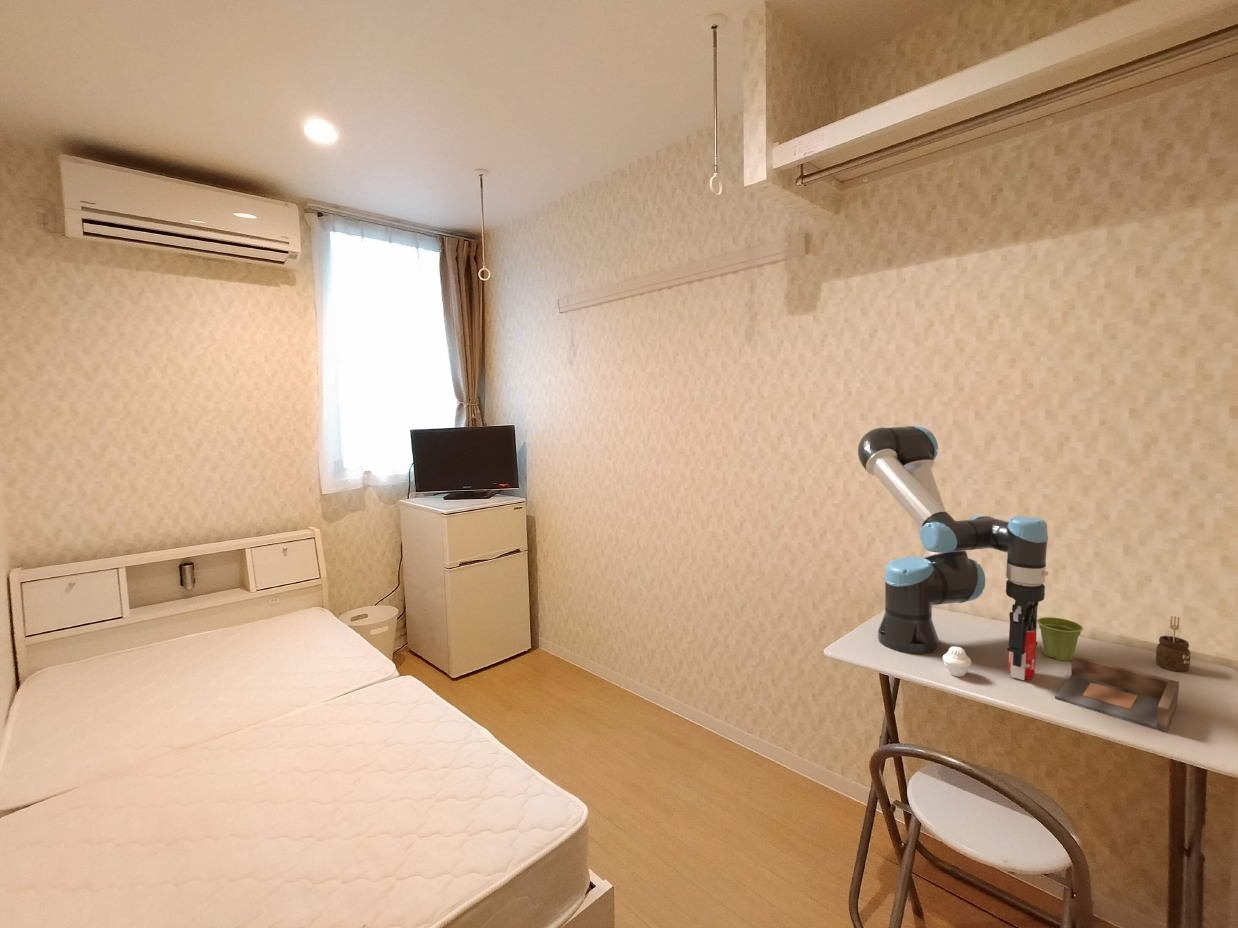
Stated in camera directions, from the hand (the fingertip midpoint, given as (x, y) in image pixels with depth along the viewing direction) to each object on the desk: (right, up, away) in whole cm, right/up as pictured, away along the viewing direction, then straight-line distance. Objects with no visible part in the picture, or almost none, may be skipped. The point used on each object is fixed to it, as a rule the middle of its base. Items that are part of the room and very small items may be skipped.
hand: (1021, 673), depth 135 cm
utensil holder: (+39, +1, +2) cm, 39 cm away
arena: (+12, -1, -13) cm, 17 cm away
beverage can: (0, -1, 0) cm, 0 cm away
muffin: (-15, -1, +2) cm, 15 cm away
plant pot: (+17, +1, +9) cm, 19 cm away
